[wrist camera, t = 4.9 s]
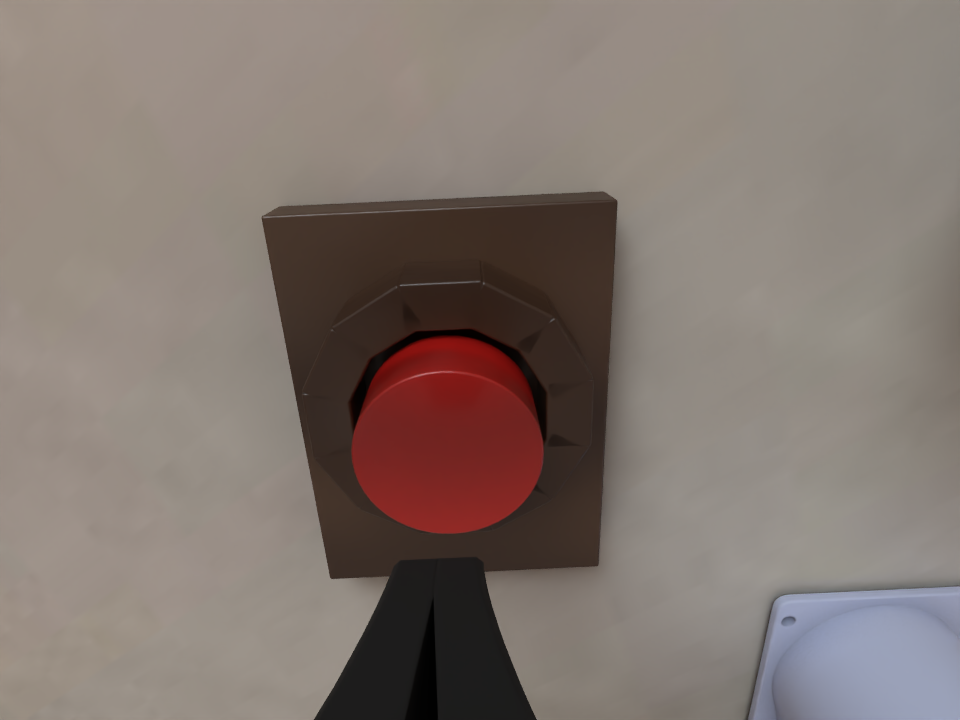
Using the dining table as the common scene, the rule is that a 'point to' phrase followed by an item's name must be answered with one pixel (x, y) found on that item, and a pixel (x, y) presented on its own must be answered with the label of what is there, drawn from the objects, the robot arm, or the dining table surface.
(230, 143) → the dining table surface
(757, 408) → the dining table surface
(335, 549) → the switch block
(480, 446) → the light button
